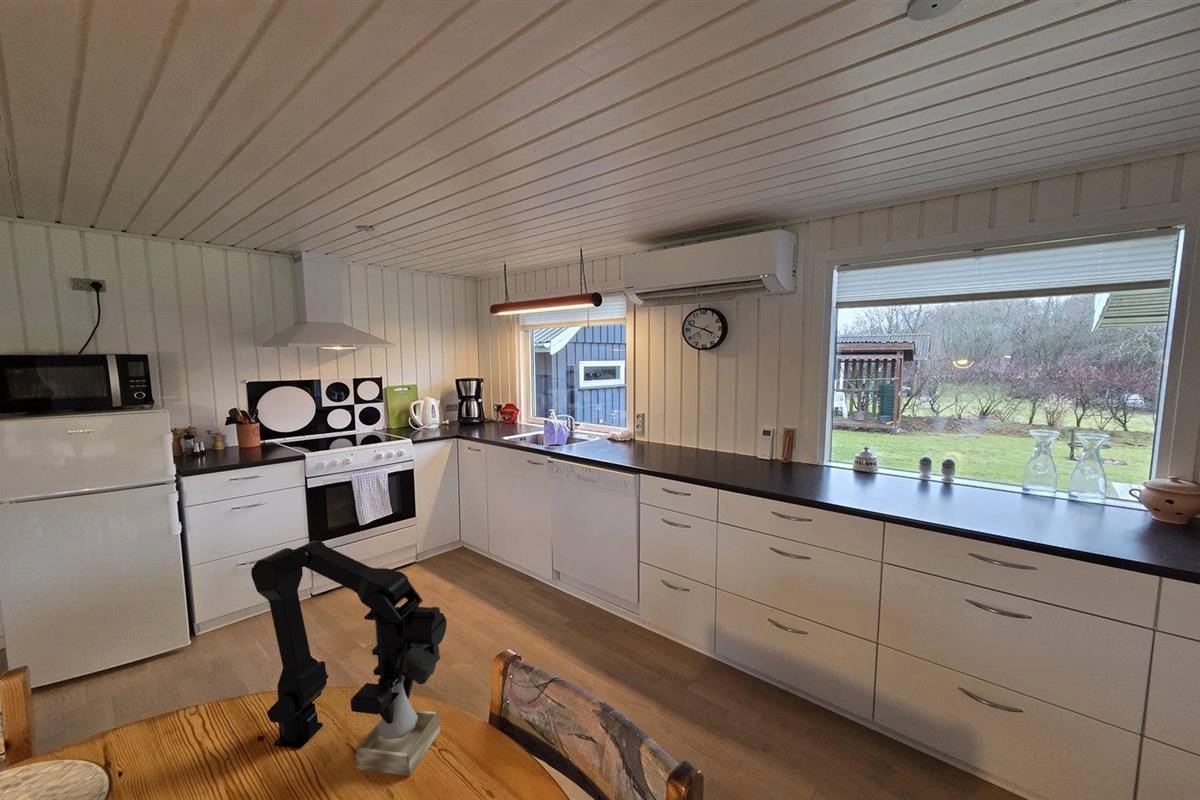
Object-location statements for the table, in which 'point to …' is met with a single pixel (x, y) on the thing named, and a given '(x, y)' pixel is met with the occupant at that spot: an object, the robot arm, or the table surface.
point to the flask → (399, 715)
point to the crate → (398, 747)
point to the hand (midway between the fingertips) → (397, 712)
